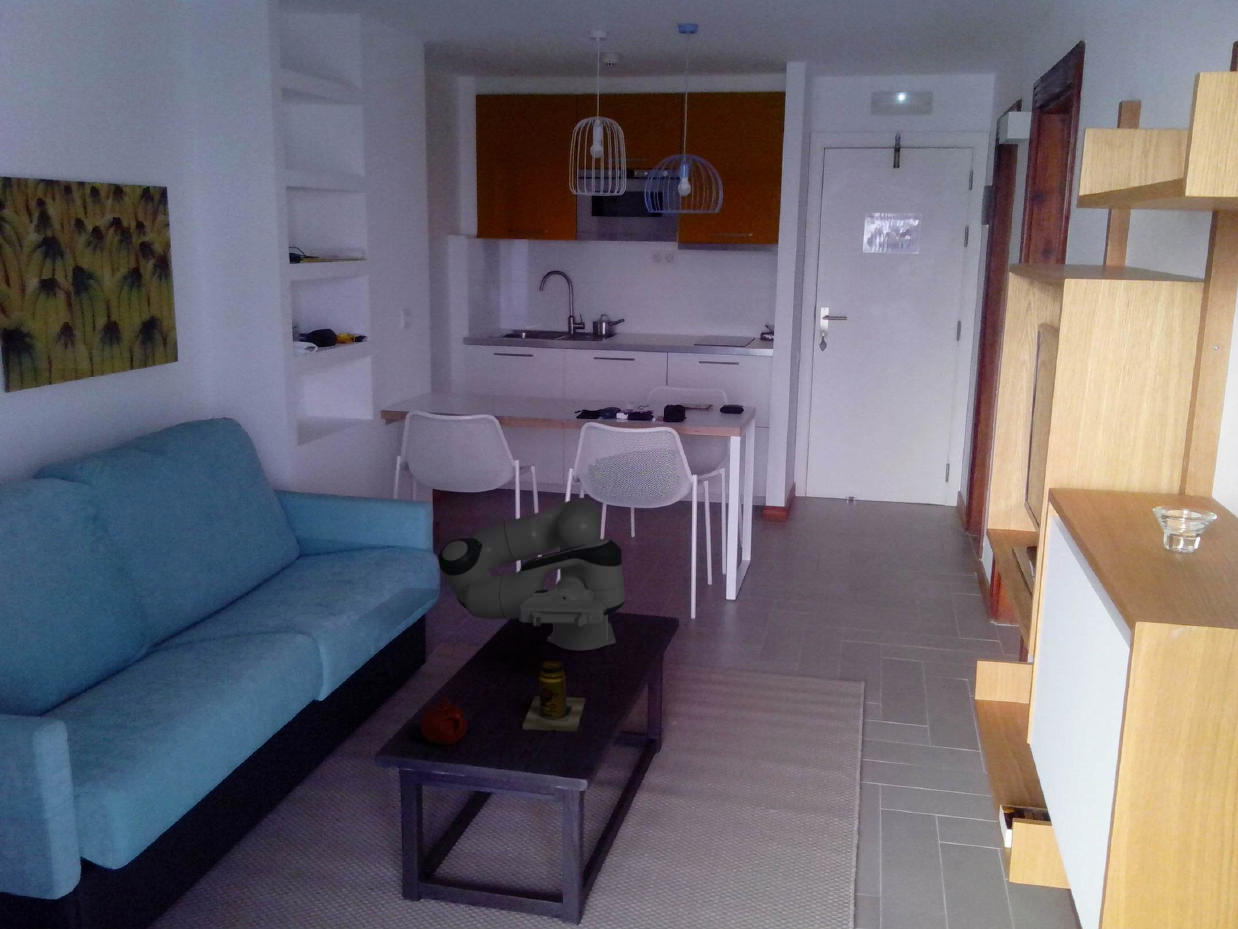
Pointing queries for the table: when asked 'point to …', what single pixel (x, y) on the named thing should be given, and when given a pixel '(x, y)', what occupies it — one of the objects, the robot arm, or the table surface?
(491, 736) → the table surface
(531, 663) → the table surface
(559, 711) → the condiment
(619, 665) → the table surface
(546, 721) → the board
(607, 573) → the robot arm
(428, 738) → the pomegranate
